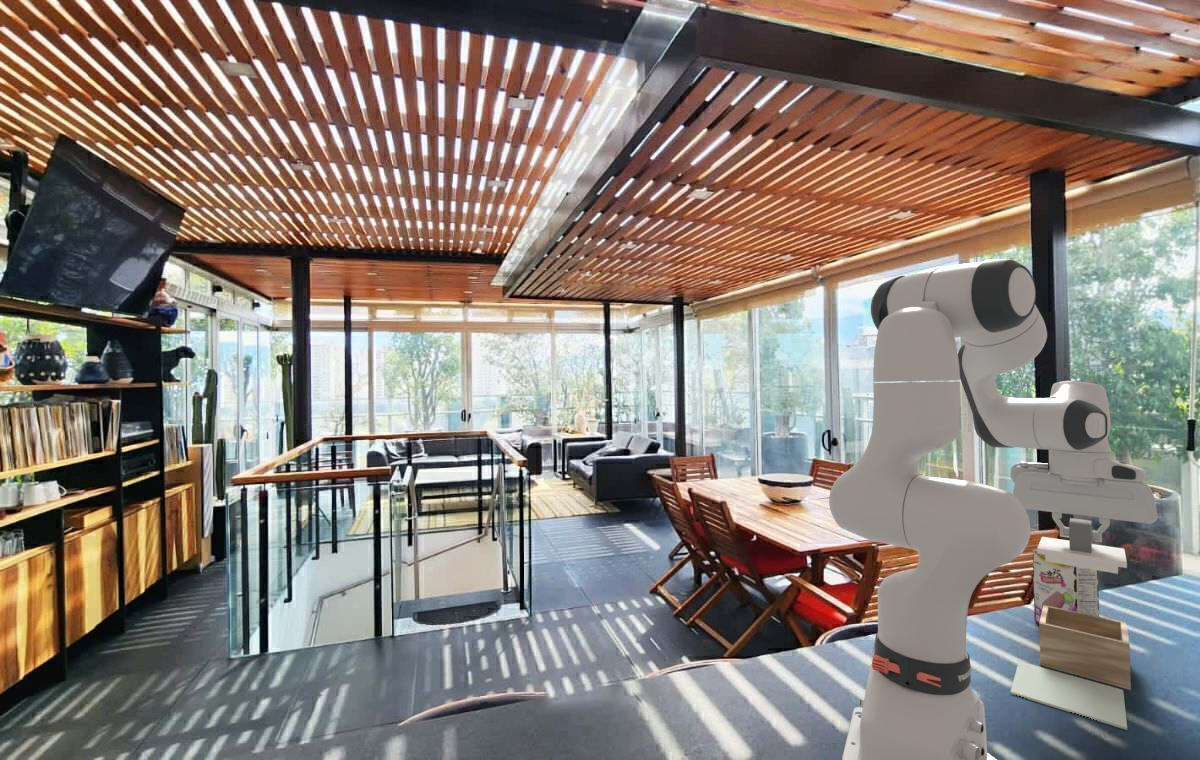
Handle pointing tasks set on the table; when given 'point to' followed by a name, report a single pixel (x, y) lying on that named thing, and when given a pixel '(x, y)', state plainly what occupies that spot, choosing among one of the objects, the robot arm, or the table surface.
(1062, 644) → the box
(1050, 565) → the candy bar box
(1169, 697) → the table surface
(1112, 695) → the mat
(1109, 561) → the lid
